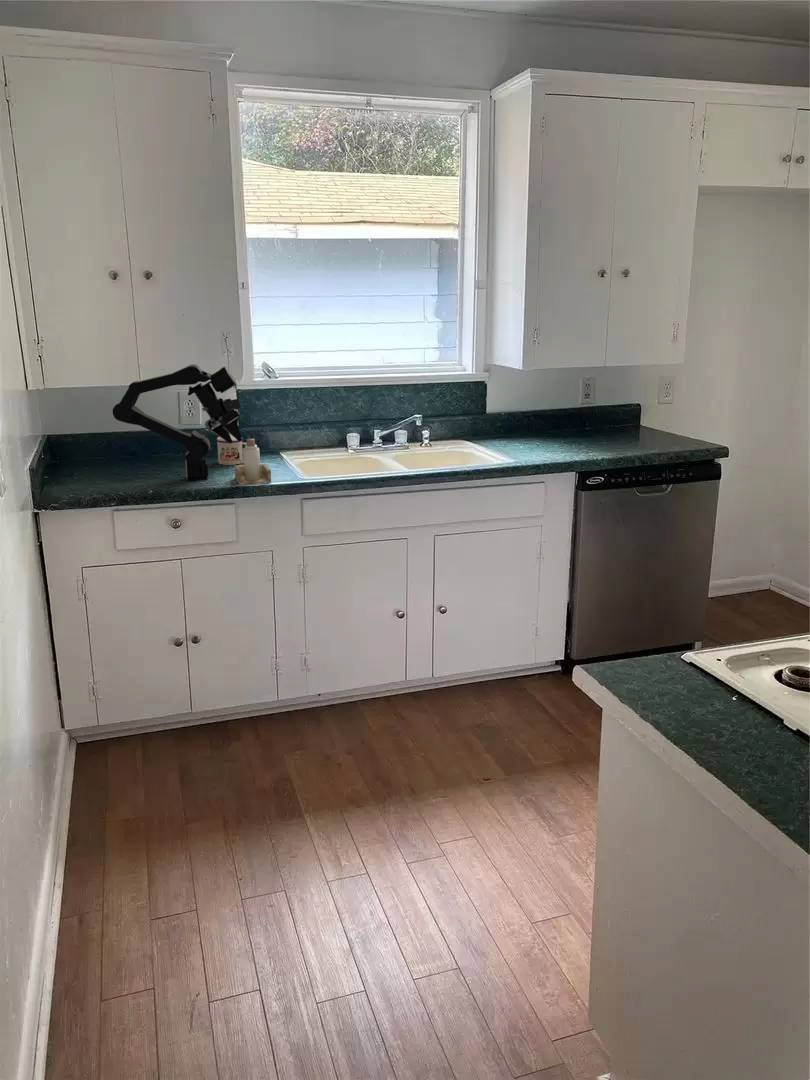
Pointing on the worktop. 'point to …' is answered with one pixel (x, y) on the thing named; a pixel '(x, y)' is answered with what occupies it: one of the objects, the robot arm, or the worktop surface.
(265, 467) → the maple U-rest
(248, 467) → the stoneware bottle
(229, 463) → the teacup with lid
